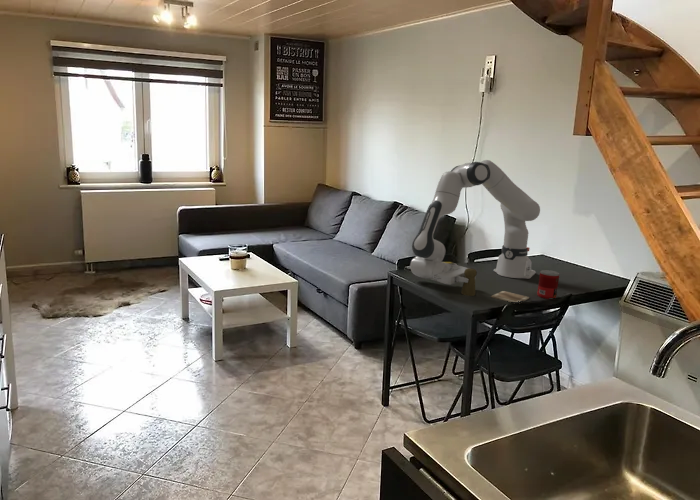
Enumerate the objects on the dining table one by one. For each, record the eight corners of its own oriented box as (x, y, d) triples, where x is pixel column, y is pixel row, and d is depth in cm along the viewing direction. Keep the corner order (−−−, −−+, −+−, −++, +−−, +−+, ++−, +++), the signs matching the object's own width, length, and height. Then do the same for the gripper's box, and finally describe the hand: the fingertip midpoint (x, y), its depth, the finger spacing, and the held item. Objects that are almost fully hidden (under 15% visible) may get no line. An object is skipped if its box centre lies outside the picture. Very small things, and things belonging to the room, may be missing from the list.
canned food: (557, 300, 246) (560, 275, 244) (537, 298, 248) (541, 273, 245) (554, 295, 253) (558, 271, 251) (535, 293, 255) (539, 269, 253)
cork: (459, 291, 250) (462, 266, 248) (473, 291, 251) (475, 267, 249) (463, 295, 244) (465, 270, 242) (477, 296, 245) (480, 271, 243)
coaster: (503, 292, 254) (503, 290, 253) (529, 298, 246) (529, 296, 246) (490, 297, 244) (490, 295, 244) (517, 304, 237) (517, 302, 237)
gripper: (431, 269, 246) (460, 276, 237) (455, 262, 261) (483, 268, 253) (430, 283, 247) (458, 291, 238) (454, 276, 263) (481, 282, 254)
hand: (471, 279), depth 246 cm, fingers closed on cork, 4 cm apart
